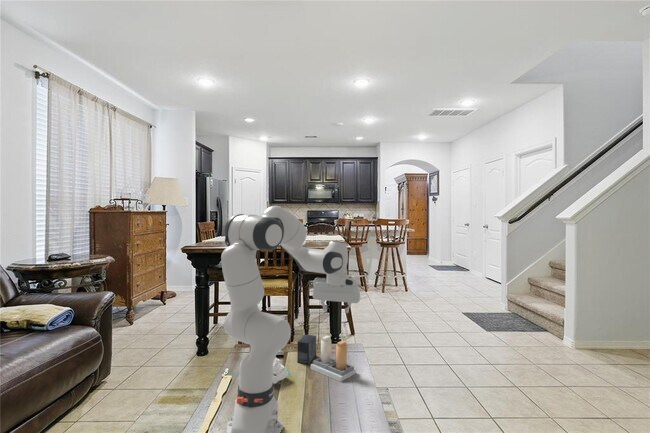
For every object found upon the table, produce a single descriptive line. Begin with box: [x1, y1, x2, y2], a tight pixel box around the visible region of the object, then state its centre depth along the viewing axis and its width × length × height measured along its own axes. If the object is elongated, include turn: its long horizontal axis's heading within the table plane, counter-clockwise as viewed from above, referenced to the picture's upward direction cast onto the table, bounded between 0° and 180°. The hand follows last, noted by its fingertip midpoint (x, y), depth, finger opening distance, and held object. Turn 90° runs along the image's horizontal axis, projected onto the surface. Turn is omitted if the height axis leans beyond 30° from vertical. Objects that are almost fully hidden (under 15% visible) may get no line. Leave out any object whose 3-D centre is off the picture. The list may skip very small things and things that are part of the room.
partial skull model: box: [273, 356, 291, 385], centre depth 152 cm, size 12×9×10 cm
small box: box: [296, 334, 317, 365], centre depth 174 cm, size 11×6×10 cm, turn 162°
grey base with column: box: [310, 334, 357, 382], centre depth 161 cm, size 18×11×14 cm, turn 48°
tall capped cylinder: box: [335, 340, 348, 371], centre depth 158 cm, size 5×5×12 cm
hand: (335, 311), depth 150 cm, fingers open, 8 cm apart
